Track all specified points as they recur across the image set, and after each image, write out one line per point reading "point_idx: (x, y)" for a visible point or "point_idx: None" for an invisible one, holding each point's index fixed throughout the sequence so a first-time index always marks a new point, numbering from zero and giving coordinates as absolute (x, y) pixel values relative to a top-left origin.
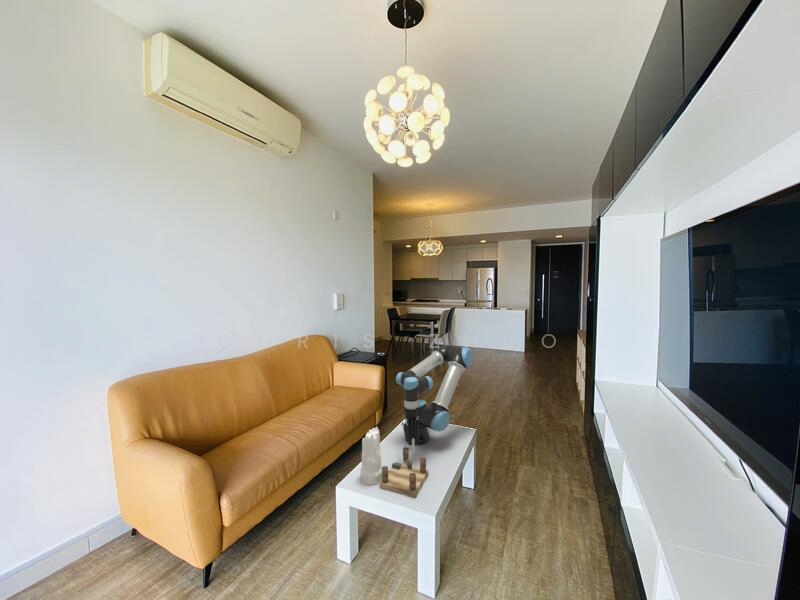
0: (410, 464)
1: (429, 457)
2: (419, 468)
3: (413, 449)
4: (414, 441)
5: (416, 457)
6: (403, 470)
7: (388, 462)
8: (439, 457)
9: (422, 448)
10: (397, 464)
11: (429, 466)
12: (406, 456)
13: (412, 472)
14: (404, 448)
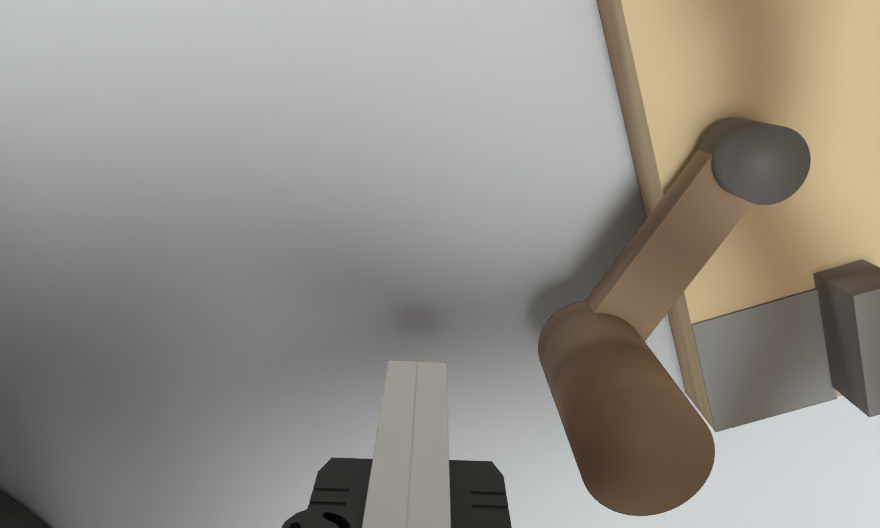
0: (796, 133)
1: (152, 166)
2: (640, 9)
3: (418, 373)
4: (328, 484)
5: (302, 321)
6: (840, 195)
7: (655, 521)
8: (19, 29)
9: (46, 402)
10: (878, 331)
11: (355, 3)
12: (645, 347)
13: (813, 34)
14: (651, 487)
